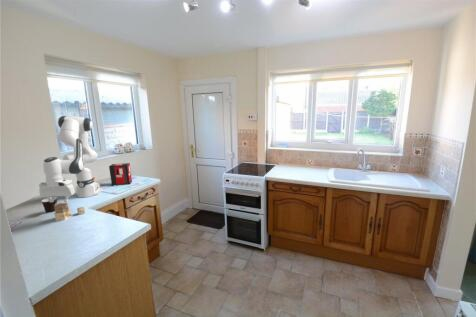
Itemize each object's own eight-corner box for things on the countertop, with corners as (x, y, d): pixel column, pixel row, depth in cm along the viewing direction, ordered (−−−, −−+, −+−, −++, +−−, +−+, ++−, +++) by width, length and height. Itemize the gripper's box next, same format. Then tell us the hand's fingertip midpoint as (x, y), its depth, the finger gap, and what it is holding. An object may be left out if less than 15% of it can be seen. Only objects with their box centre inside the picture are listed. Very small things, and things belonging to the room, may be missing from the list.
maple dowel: (78, 212, 157) (78, 207, 157) (85, 211, 159) (84, 206, 158) (77, 215, 154) (76, 209, 153) (84, 214, 155) (83, 208, 155)
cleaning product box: (132, 181, 231) (129, 163, 226) (129, 184, 222) (127, 165, 218) (114, 183, 227) (112, 164, 223) (111, 185, 219) (108, 166, 215)
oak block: (62, 216, 153) (60, 209, 152) (71, 215, 153) (69, 209, 152) (55, 220, 147) (54, 213, 146) (65, 219, 147) (63, 213, 146)
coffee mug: (50, 215, 157) (48, 202, 155) (41, 214, 159) (38, 201, 157) (66, 208, 168) (63, 196, 166) (57, 207, 170) (54, 195, 168)
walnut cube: (60, 209, 151) (59, 203, 150) (68, 209, 151) (67, 202, 150) (55, 213, 146) (54, 206, 145) (63, 212, 147) (62, 205, 146)
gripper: (34, 184, 141) (39, 204, 144) (67, 183, 142) (71, 203, 145) (42, 180, 147) (46, 200, 150) (74, 180, 148) (77, 199, 151)
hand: (59, 201), depth 148 cm, fingers open, 8 cm apart
